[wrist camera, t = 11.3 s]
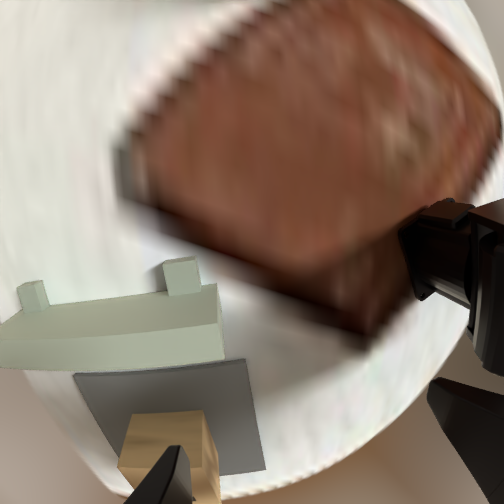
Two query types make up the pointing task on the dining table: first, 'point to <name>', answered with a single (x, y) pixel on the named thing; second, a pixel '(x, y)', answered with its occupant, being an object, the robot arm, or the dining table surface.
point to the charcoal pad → (182, 406)
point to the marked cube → (172, 433)
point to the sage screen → (117, 327)
